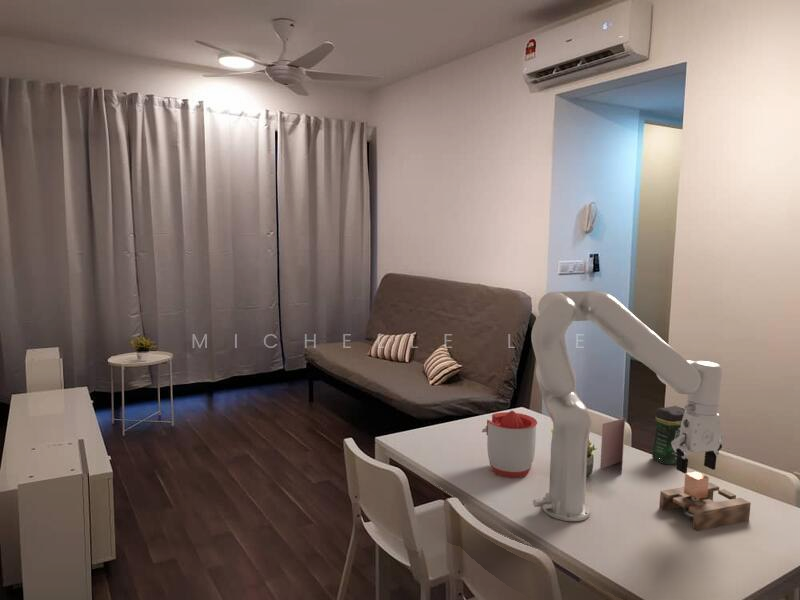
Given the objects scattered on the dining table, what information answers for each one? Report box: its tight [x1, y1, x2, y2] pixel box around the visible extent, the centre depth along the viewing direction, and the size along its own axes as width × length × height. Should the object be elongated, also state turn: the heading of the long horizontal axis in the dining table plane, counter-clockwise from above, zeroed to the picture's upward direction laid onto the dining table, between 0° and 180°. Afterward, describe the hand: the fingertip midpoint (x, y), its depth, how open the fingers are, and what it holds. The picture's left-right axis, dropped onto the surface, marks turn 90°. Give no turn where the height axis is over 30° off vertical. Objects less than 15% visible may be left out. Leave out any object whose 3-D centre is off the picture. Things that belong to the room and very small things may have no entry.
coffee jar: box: [651, 405, 686, 465], centre depth 196 cm, size 10×8×19 cm
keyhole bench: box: [658, 482, 752, 531], centre depth 159 cm, size 18×13×5 cm
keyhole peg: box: [683, 471, 710, 521], centre depth 158 cm, size 5×5×12 cm
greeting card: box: [599, 417, 626, 475], centre depth 190 cm, size 11×7×15 cm, turn 122°
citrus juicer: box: [481, 410, 538, 479], centre depth 186 cm, size 16×17×20 cm
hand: (695, 469), depth 157 cm, fingers open, 9 cm apart
